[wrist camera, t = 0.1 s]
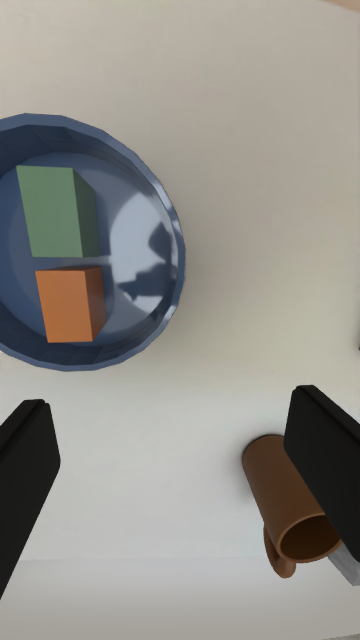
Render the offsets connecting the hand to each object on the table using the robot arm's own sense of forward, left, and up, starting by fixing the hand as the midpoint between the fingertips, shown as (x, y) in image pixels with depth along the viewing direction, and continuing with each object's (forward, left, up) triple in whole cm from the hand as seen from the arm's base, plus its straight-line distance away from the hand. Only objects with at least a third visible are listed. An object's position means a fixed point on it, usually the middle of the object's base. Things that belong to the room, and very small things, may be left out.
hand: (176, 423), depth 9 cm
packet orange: (-2, -8, -15) cm, 17 cm away
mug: (+22, +13, -16) cm, 30 cm away
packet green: (-9, -8, -15) cm, 19 cm away
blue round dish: (-5, -8, -15) cm, 18 cm away
